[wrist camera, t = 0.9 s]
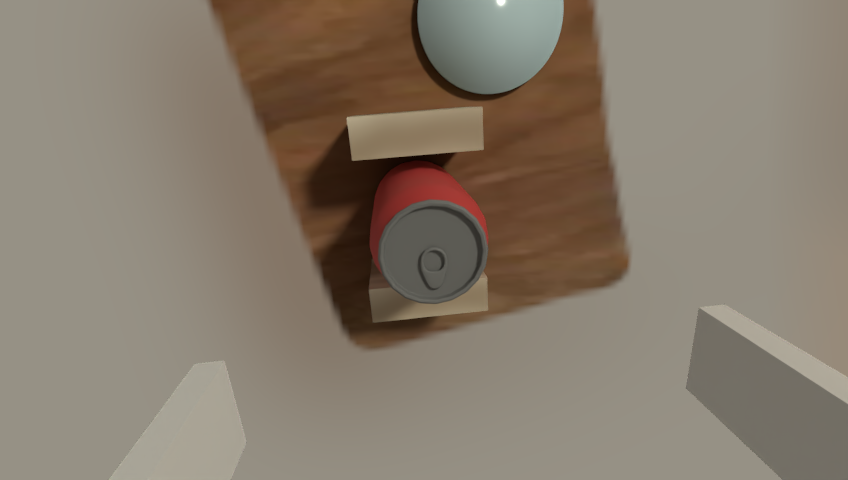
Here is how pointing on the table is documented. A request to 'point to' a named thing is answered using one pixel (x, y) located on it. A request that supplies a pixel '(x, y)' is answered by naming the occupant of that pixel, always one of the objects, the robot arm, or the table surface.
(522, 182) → the table surface
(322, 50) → the table surface
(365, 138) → the block
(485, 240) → the beer can
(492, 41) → the coaster
